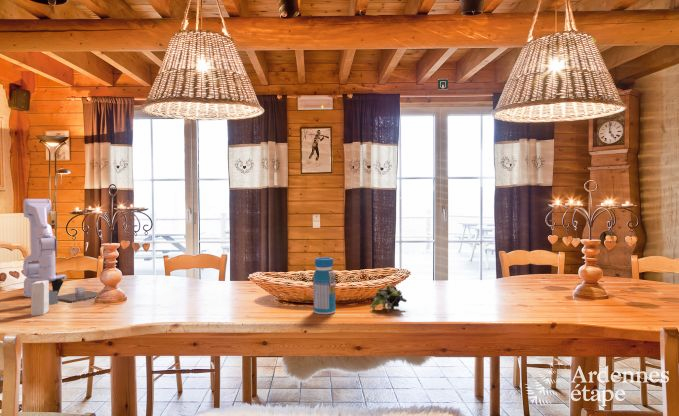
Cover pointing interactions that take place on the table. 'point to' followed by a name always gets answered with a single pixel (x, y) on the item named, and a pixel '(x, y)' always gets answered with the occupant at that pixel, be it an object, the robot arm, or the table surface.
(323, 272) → the beverage bottle
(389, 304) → the green leafy plant
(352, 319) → the table surface
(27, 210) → the robot arm
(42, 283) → the skincare box
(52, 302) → the grey cube
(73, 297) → the dark grey flat block
